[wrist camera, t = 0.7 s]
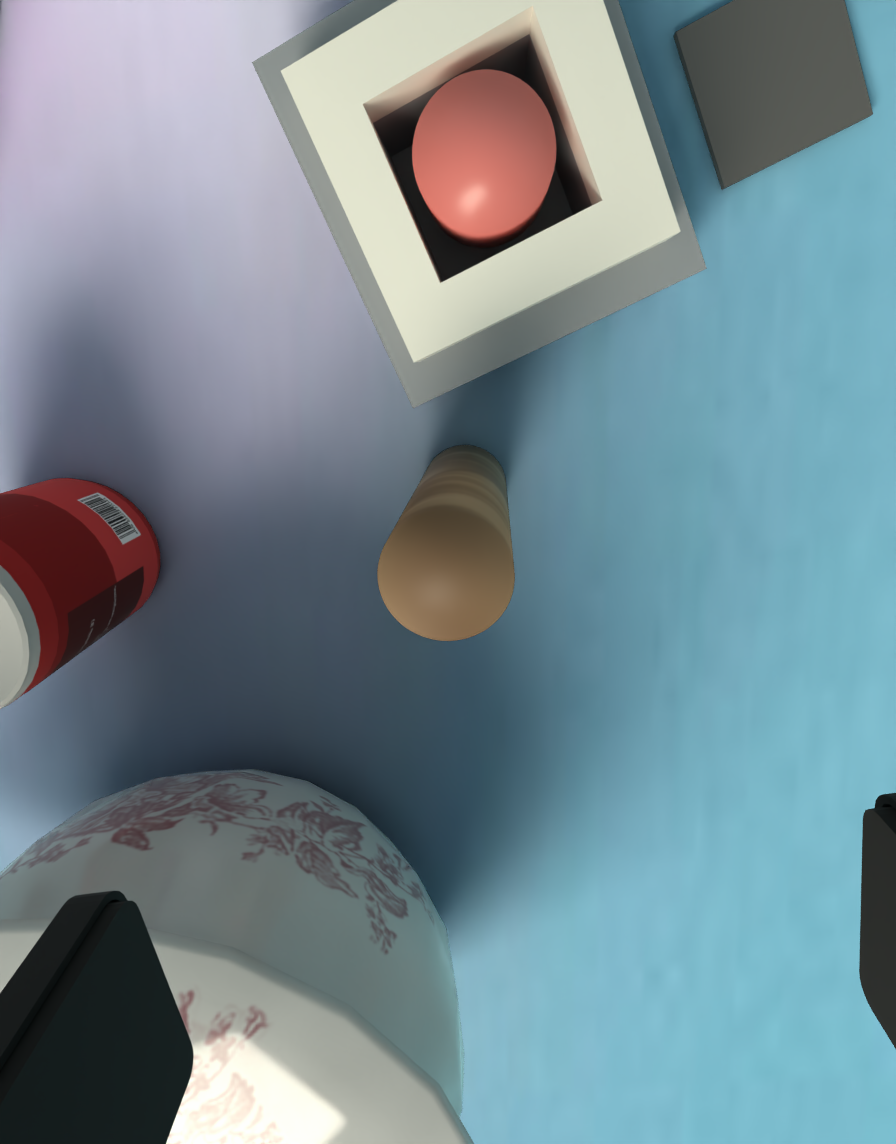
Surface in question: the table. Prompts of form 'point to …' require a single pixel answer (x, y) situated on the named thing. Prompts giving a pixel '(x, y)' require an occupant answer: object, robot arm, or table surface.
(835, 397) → the table surface
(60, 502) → the canned food
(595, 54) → the grey white square holder
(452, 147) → the egg
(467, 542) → the brown rounded cylinder
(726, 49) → the coaster
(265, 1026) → the chamber pot
